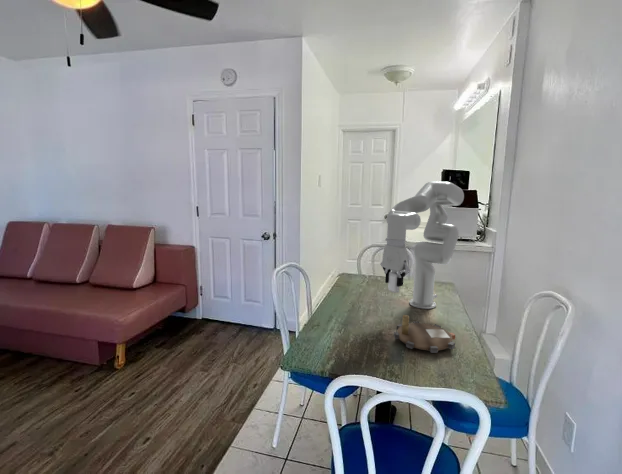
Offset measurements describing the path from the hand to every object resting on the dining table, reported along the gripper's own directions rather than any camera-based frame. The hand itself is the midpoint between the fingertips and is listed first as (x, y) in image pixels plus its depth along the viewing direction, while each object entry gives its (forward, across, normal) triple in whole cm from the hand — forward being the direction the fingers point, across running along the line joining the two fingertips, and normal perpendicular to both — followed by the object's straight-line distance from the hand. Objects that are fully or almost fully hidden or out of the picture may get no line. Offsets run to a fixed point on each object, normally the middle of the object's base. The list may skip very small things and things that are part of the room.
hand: (393, 283), depth 150 cm
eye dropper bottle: (+3, 0, 0) cm, 3 cm away
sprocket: (+16, +20, -5) cm, 26 cm away
